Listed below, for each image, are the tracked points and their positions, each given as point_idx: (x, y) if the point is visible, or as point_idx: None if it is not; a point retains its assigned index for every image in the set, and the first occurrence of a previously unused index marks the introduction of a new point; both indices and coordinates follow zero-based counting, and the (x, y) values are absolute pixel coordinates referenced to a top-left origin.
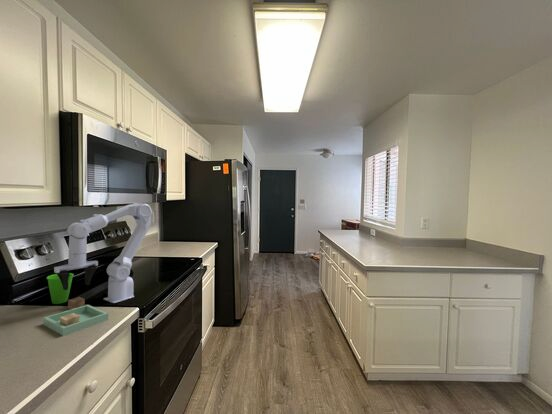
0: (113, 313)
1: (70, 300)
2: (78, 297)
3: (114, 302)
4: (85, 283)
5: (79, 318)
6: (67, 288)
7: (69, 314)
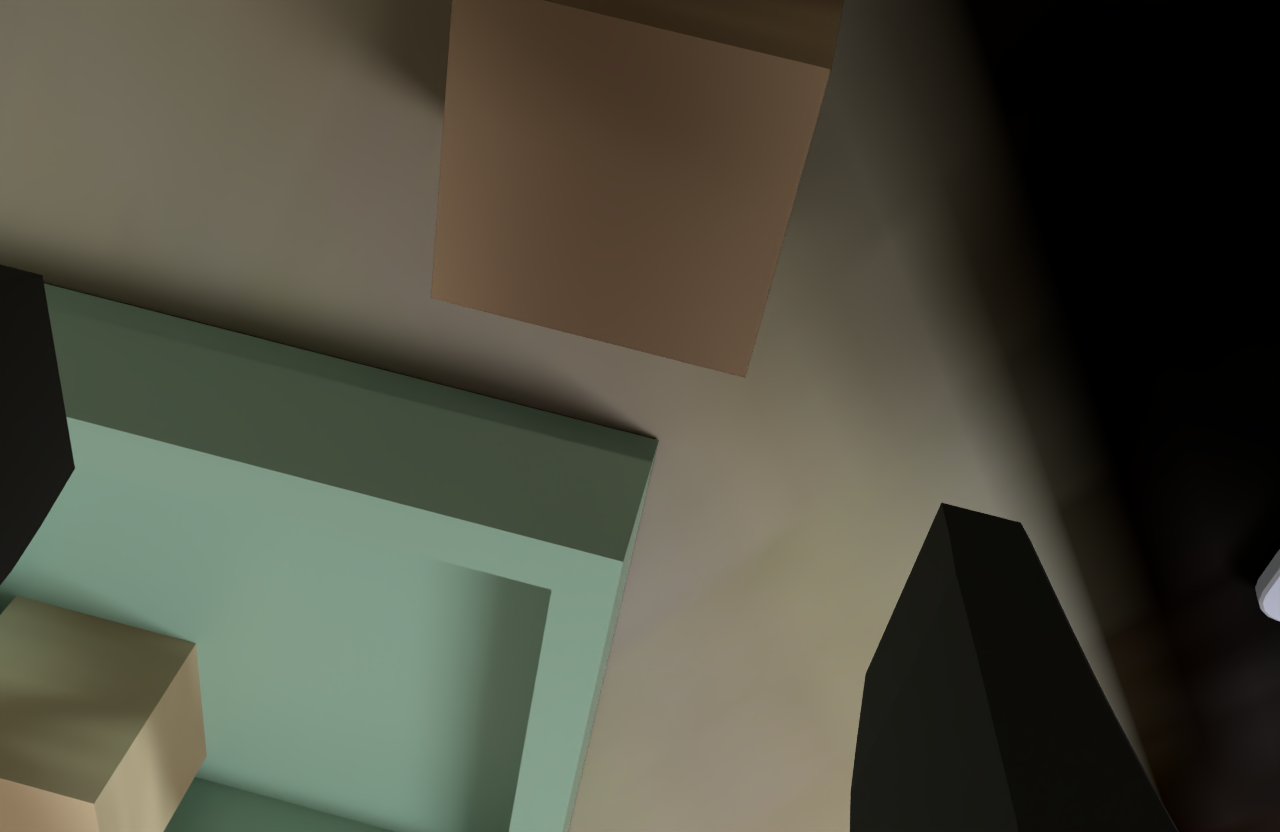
0: (803, 808)
1: (463, 106)
2: (776, 83)
3: (1270, 615)
4: (930, 561)
5: (353, 582)
6: (23, 522)
7: (30, 790)
